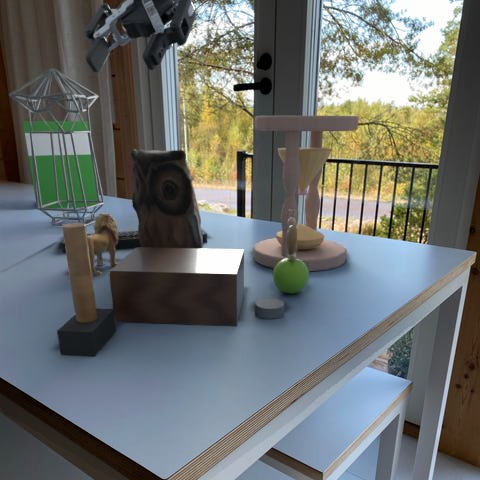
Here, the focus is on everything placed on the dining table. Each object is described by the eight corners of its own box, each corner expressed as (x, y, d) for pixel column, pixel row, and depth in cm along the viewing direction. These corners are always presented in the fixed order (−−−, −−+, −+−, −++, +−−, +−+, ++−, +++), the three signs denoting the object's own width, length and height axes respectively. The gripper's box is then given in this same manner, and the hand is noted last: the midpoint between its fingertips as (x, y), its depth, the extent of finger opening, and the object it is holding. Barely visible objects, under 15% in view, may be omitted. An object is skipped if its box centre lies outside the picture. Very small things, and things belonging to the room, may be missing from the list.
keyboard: (197, 231, 112) (197, 223, 111) (207, 242, 102) (207, 233, 101) (64, 240, 104) (63, 231, 103) (62, 252, 94) (61, 242, 94)
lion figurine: (100, 258, 90) (94, 210, 87) (127, 259, 90) (122, 211, 86) (62, 282, 77) (54, 227, 74) (93, 284, 76) (86, 228, 73)
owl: (203, 274, 81) (199, 150, 73) (128, 275, 81) (117, 150, 73) (205, 255, 93) (201, 146, 85) (140, 255, 92) (131, 146, 84)
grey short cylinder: (284, 309, 62) (284, 319, 63) (284, 298, 66) (284, 308, 66) (254, 308, 63) (254, 318, 63) (255, 297, 66) (255, 307, 67)
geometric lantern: (88, 231, 112) (66, 64, 98) (27, 229, 114) (-2, 65, 101) (115, 219, 126) (100, 71, 112) (61, 217, 129) (40, 72, 115)
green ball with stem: (305, 284, 76) (309, 209, 71) (309, 298, 70) (314, 217, 65) (271, 284, 76) (273, 209, 71) (272, 298, 70) (275, 217, 66)
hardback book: (96, 202, 152) (87, 121, 143) (98, 205, 146) (89, 121, 136) (37, 205, 146) (24, 121, 137) (37, 209, 140) (22, 121, 131)
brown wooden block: (107, 321, 62) (101, 270, 59) (133, 291, 73) (129, 246, 70) (236, 326, 61) (236, 273, 58) (243, 294, 72) (243, 249, 69)
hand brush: (60, 354, 53) (40, 231, 48) (85, 329, 60) (70, 218, 54) (94, 356, 53) (78, 232, 48) (116, 330, 59) (103, 219, 54)
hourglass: (317, 278, 79) (328, 115, 69) (234, 260, 89) (234, 115, 79) (361, 256, 92) (375, 116, 82) (284, 243, 102) (289, 116, 92)
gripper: (106, -45, 63) (56, 41, 58) (199, -60, 58) (154, 33, 53) (133, 9, 70) (90, 91, 65) (219, 0, 65) (181, 89, 60)
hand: (119, 65), depth 59 cm, fingers open, 8 cm apart
